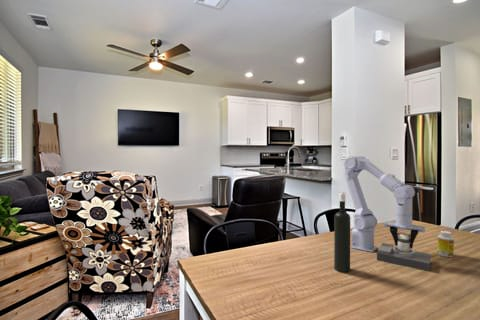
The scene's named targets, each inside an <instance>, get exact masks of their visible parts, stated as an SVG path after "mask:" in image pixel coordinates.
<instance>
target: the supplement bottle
mask: <svg viewBox="0 0 480 320" xmlns="http://www.w3.org/2000/svg"><path fill="white" fill-rule="evenodd" d="M454 243H455V238H454V237H453V235H452V232H451V231H448V230H441V231H440V232H439V235H437V254H438V255H439V256H442V257H446V258H452V257H454V253H455V252H454V250H455V249H454V248H455V245H454Z"/></svg>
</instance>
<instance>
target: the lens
mask: <svg viewBox="0 0 480 320" xmlns="http://www.w3.org/2000/svg"><path fill="white" fill-rule="evenodd" d="M410 242H411V235H410V233H407V232H400V231H399V232H397V246H396V247H397V250H398V251H400V252H405V253H410V249H411V248H410Z"/></svg>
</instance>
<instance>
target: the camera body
mask: <svg viewBox="0 0 480 320" xmlns="http://www.w3.org/2000/svg"><path fill="white" fill-rule="evenodd" d="M393 247H395V244H392V243H386V242H382V243H381V245H380V246H379V248H378V250H377V252H376V260H377V261H379V262H380V261H381V262H384V263H388V264H394V265H398V266H402V265H403V266H404V267H407V268H412V269H416V270H422V271H426V272H430V270H431V261H432V260H431V258H432V254H431V253H427V252H421V251H416V250H414V251H415V256H414V257H403V256H399V255H396V254H394V253H393Z"/></svg>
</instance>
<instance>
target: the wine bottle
mask: <svg viewBox="0 0 480 320" xmlns="http://www.w3.org/2000/svg"><path fill="white" fill-rule="evenodd" d="M338 195H339V211H338V212H336V213H335V214H334V219H333V220H334V223H333V225H334V226H333V229H334V232H333V233H334V234H333V235H334V237H333V238H334V239H333V240H334V241H333V242H334V243H333V245H334V249H333V251H334V253H333V254H334V255H333V258H334V260H333V261H334V262H333V263H334V264H333V265H334V266H333V267H334V268H333V269H334V270H335V271H337V272H339V273H350V272H351V215H350V214H349V213H348V212H346V192H344V191H343V192H342V191H341V192H339V194H338Z"/></svg>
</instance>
